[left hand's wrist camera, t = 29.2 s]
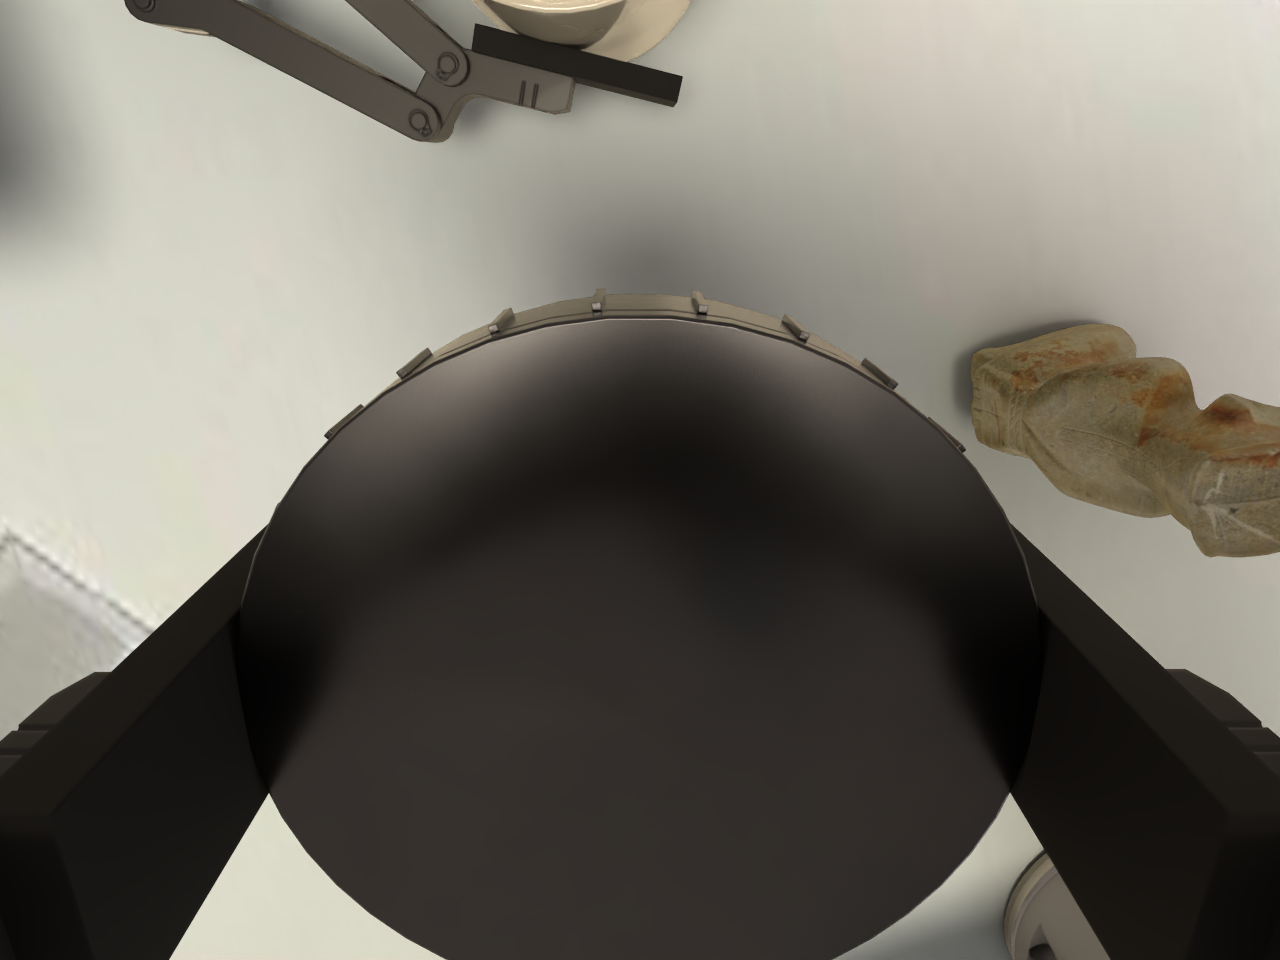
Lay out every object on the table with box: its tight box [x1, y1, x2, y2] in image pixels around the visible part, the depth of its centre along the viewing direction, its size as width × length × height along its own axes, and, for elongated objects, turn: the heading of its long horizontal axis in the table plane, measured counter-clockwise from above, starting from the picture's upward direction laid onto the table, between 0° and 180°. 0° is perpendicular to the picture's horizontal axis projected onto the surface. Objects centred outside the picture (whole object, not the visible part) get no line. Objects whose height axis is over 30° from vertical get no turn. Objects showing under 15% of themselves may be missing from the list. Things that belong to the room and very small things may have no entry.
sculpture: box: [970, 324, 1280, 557], centre depth 30 cm, size 6×7×15 cm
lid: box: [236, 289, 1042, 960], centre depth 11 cm, size 10×10×2 cm
